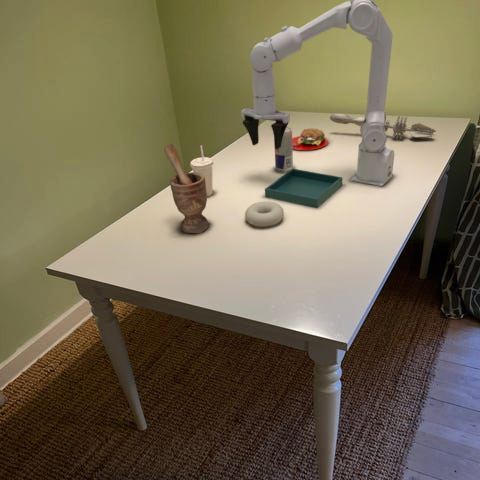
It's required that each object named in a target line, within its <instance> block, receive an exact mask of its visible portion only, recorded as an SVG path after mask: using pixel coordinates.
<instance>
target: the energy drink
mask: <svg viewBox="0 0 480 480" xmlns="http://www.w3.org/2000/svg"><path fill="white" fill-rule="evenodd" d="M292 138H293V131H292V128H291V127H289V126H287V127H286V129H285V132H284V135H283V139H282V143H281V147H280V148H278V149H275V148H274V164H275V165H274V166H275V171H276V172H277V173H281V174H286V173H287V172H288V171H290V170H291V169H294V156H293V155H294V154H293V153H294V152H293V150H294V149H293V148H292ZM273 145H274V144H273ZM273 147H275V145H274V146H273Z"/></svg>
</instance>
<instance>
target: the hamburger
mask: <svg viewBox="0 0 480 480" xmlns="http://www.w3.org/2000/svg"><path fill="white" fill-rule="evenodd" d="M328 143H329V140H328V139H327V137H326V135H325V133H324V131H323V130H321V129H319V128H312V127H311V128H306V129H303V130H302V132H301V133H299V135H298V136H295V137H292V148H293V150H298V151H312V150H318V149H321V148H324V147H326V146H327V145H328Z"/></svg>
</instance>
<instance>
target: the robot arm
mask: <svg viewBox="0 0 480 480" xmlns="http://www.w3.org/2000/svg"><path fill="white" fill-rule="evenodd" d="M347 24H348V25H349V27H350V29H351V30H352V31H353V32H355V33H356V34H358V35H361V36H364V37H365V38H366V39H367V40H368V41H369V43H370V44H371V48H370V49H371V50H370V51H371V52H370V61H369V63H370V64H369V73H368V85H367V96H366V97H367V98H366V107H365V113H364V118H365V119H364V122H363V123H362V125H361V126H360V127H359V128H360V129H359V131H360V135H361V142H359V144H358V151H357V164H356V165H357V167H356V174H355V175H354V176H352V178H351V179H350V181H351V182H357V183H362V184H368V185H374V186H380V187H383V186H385V184H386V183H388V181H389V180H390V179H391V178H392V177H393V176H394V174H393V170H394V163H395V151H394V149H391V148H388V147H387V144H386V143H387V140H388V139H387V138H388V137H387V133H386V131H385V129H384V124H385V123H386V121H385V118H384V112H385V110H386V100H387V92H388V83H389V72H390V64H391V56H392V46H393V45H392V44H393V32H392V29H391V27H390V26H389V24H388V22H387V21H386V18H385V16H384V15H383V13H382V11H381V9H380V7H379V6H378V4H377V3H375V1H373V0H347V1H345V2H342V3H340V4H337V5H336V6H334V7H332V8H331V9H329V10H327V11H326V12H324V13H322V14H320V15H319V16H317V17H316V18H314V19H312V20H311V21H309V22H307V23H305V24H304V25H302V26H301V27H295V26H292V25H291V26H289V27H288V26H287V25H285V26H282V27H281V31H280V32H278V33H276V34H275V35H273V36H270V37H265V38H264V39H263V41H260V42H258V43H256V44H255V45H254V46H253V47H252V50H251V52H250V54H249V64H250V66H251V74H252V75H251V83H252V97H253V108H244V109H242V110H240V112H241V119H243V121H242V125H243V126H244V128H245V129H246V131H247V133H248V136H249V138H250V141H251V144H252V146H256V145H258V144H259V141H260V139H259V136H260V135H259V126H260V125H259V124H260V120H263V121H271V122H273V123H272V124H271V125H270V126H271V127H270V128H271V130H272V133H273V143H274V144H273V145H275V146H274V150H275V149H278V148H280V147H281V143H282V139H283V135H284V132H285V129H286V127H288V125H289V122H291V114H290V113H286V112H283V111H280V110H276V93H275V91H276V90H275V74H274V64H273V63H278V62H281V61H284V59H287V58H288V57H291V56H292V55H294V54H296V53H297V52H300V51H301V50H302V47H303V44H304V42H306V41H309V40H311V39H312V38H315V37H317V36H319V35H321V34H323V33H325V32H327V31H329V30H331V29H334V28H336V29H337V28H338V29H342V30H347Z"/></svg>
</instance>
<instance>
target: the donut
mask: <svg viewBox="0 0 480 480" xmlns="http://www.w3.org/2000/svg"><path fill="white" fill-rule="evenodd" d="M284 216H285V213H284V208H283V207H282V206H281V205H280V204H279V203H277V202H274V201H267V200H265V201H258V202H254V203H252V204H251V205H249V206H248V207H247V209H246V210H245V212H244V217H245V220H246V222H247V223H249V224H250V225H252V226H254V227H259V228H260V227H261V228H265V227H272V226H274V225H277V224H279V223H280V222H281V221H282V220H283V217H284Z"/></svg>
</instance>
